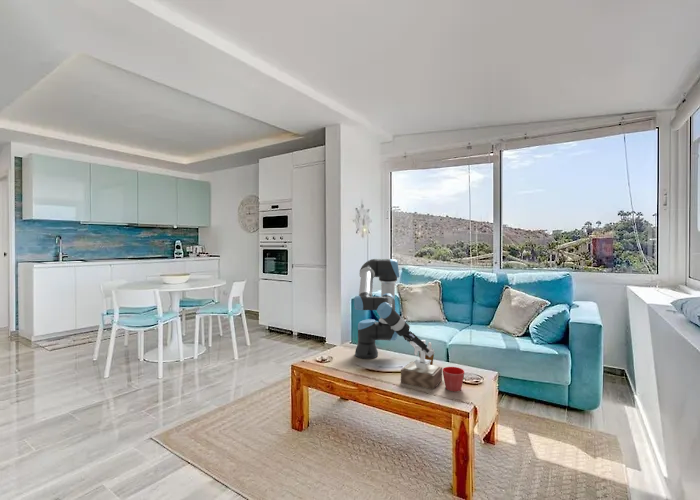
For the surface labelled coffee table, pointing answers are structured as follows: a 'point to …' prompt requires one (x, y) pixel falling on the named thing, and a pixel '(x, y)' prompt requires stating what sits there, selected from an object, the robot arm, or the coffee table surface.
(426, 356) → the disposable coffee cup
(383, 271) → the robot arm
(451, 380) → the flower pot
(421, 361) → the figurine
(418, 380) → the chevron patterned box
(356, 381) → the coffee table surface
